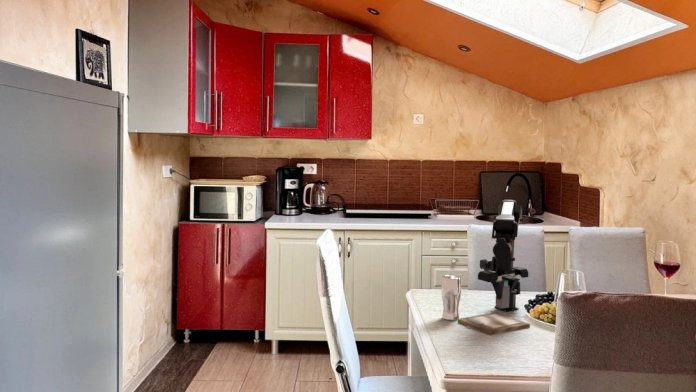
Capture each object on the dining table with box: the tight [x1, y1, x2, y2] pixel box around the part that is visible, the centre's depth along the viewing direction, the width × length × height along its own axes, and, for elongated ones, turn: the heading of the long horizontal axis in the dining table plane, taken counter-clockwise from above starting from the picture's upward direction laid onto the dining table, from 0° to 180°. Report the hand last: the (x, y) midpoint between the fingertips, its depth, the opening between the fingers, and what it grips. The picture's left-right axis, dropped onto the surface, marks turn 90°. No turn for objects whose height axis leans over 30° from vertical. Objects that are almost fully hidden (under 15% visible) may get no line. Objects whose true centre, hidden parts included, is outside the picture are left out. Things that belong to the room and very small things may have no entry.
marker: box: [495, 280, 510, 308], centre depth 199 cm, size 3×3×9 cm
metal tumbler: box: [441, 274, 462, 322], centre depth 205 cm, size 7×7×15 cm
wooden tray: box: [457, 311, 531, 336], centre depth 198 cm, size 18×16×2 cm
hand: (502, 298), depth 199 cm, fingers closed on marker, 3 cm apart
